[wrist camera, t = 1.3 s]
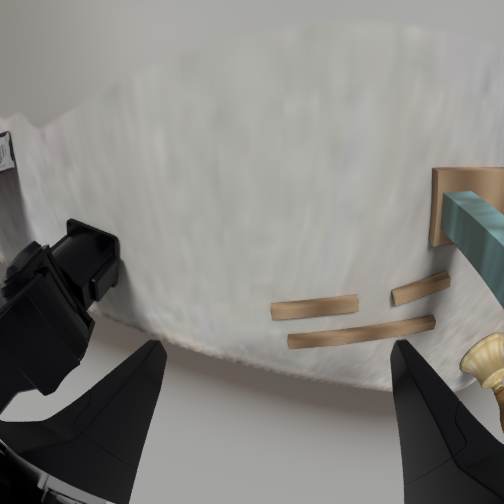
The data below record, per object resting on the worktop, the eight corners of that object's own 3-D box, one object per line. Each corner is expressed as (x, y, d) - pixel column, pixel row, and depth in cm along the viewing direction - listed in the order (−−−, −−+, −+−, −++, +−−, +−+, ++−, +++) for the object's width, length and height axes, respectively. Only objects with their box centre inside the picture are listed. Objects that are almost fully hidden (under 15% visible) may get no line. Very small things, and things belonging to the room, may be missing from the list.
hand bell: (510, 326, 24) (550, 414, 10) (492, 361, 28) (519, 441, 14) (470, 341, 26) (506, 443, 12) (453, 375, 29) (476, 464, 16)
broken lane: (280, 342, 28) (279, 349, 27) (269, 293, 25) (268, 300, 24) (435, 321, 24) (437, 328, 23) (448, 270, 21) (452, 276, 20)
